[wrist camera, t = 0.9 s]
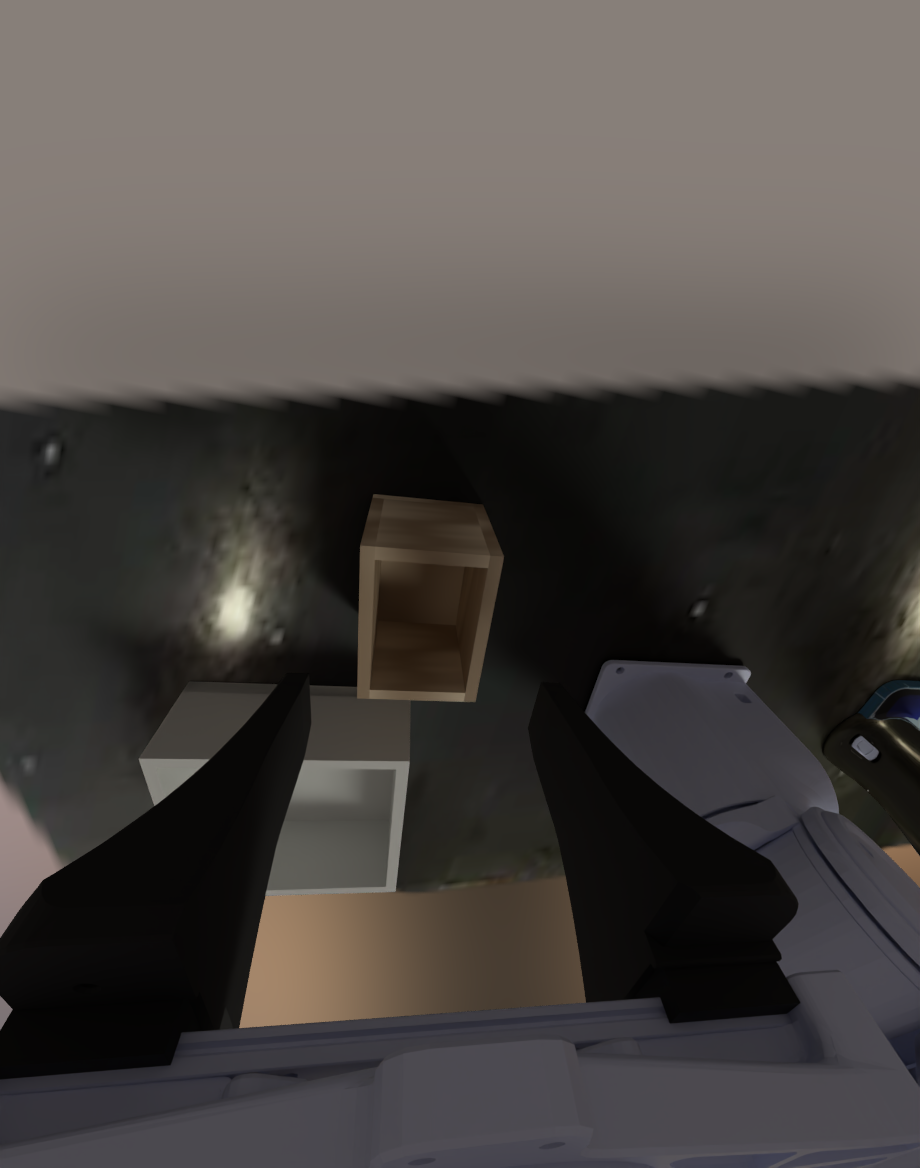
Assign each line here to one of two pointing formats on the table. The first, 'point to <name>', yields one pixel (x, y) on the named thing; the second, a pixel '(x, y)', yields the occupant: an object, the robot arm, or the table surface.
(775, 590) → the table surface
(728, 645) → the table surface
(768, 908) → the robot arm
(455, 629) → the wood crate
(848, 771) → the beer glass
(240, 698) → the storage crate
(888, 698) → the smartphone
